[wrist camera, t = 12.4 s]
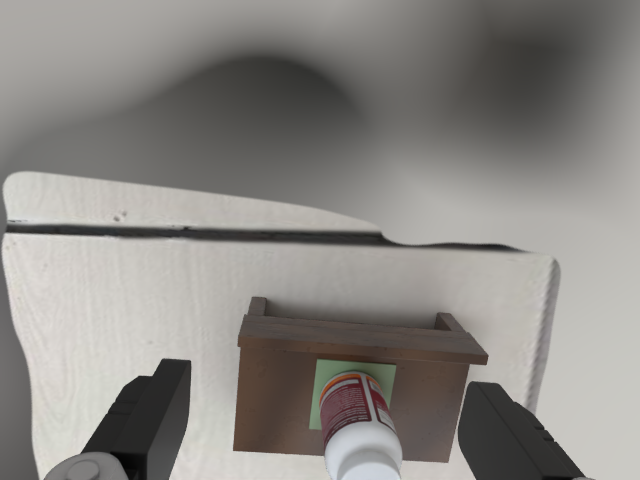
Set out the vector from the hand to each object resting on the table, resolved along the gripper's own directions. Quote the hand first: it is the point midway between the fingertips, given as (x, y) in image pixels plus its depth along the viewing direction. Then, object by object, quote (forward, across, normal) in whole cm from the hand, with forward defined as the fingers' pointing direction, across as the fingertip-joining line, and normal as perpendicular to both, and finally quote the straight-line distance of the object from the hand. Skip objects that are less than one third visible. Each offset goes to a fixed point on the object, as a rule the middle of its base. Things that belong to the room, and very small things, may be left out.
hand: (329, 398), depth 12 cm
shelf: (+32, -6, +17) cm, 36 cm away
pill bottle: (+25, -6, +17) cm, 31 cm away
